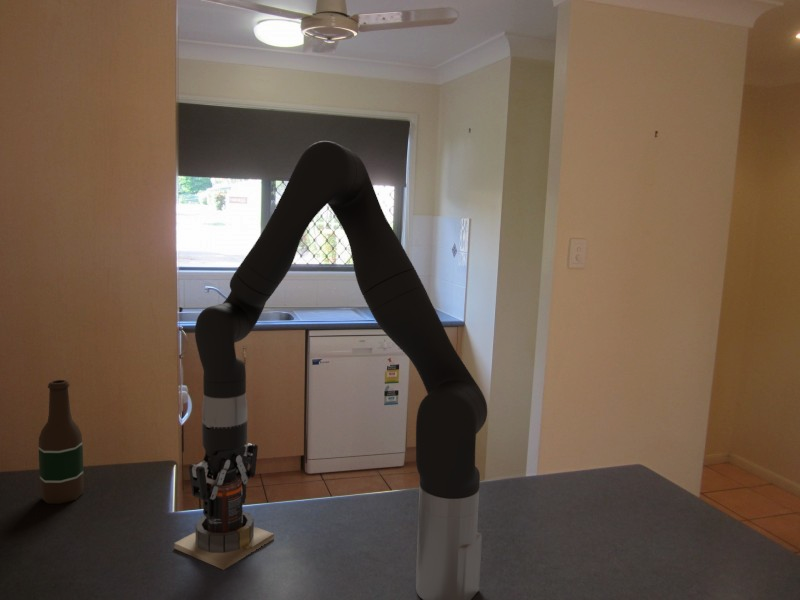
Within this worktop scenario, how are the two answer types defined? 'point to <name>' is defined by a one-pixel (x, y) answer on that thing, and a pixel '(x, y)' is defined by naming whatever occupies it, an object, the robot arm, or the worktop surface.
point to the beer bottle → (60, 450)
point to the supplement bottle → (228, 505)
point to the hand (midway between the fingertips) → (225, 510)
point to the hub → (223, 542)
